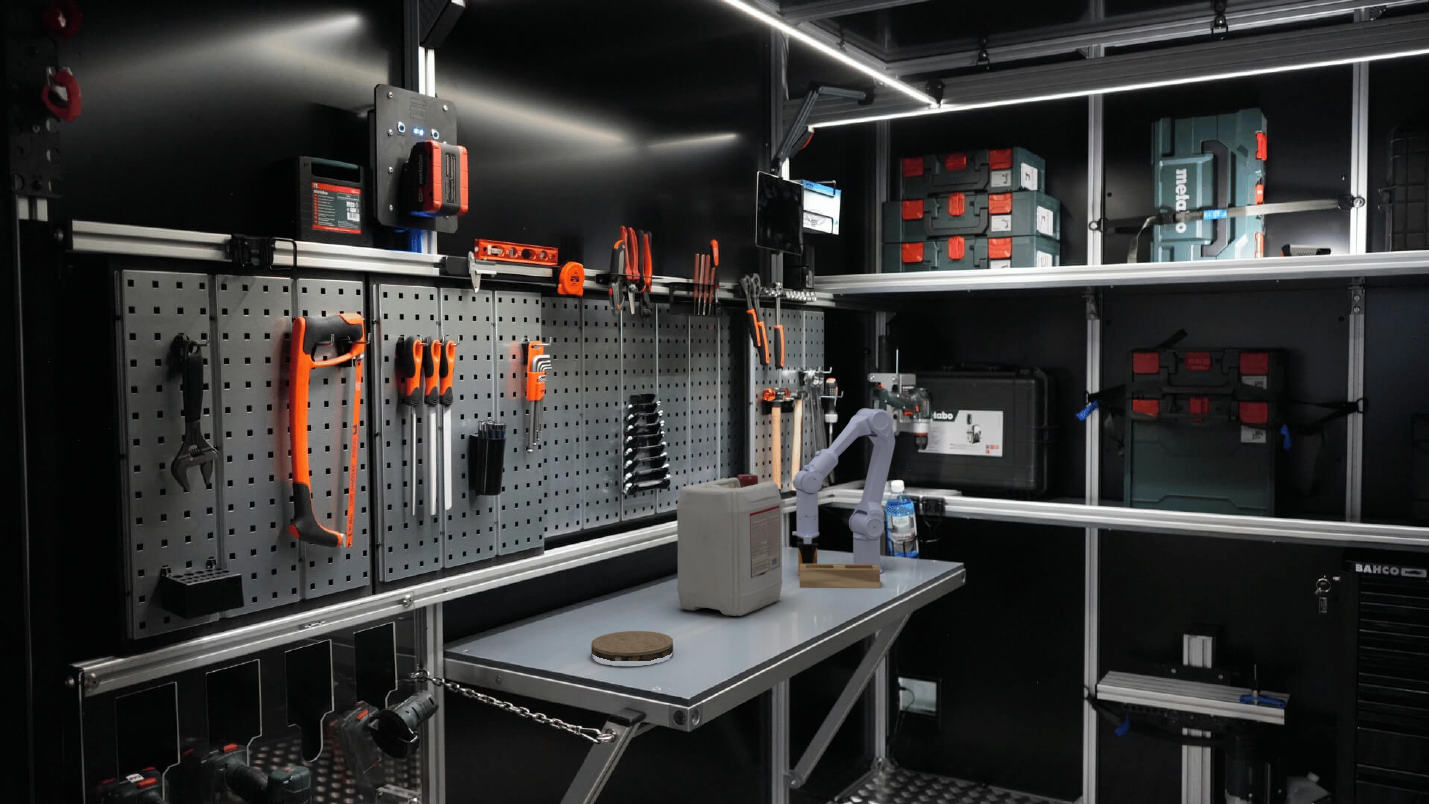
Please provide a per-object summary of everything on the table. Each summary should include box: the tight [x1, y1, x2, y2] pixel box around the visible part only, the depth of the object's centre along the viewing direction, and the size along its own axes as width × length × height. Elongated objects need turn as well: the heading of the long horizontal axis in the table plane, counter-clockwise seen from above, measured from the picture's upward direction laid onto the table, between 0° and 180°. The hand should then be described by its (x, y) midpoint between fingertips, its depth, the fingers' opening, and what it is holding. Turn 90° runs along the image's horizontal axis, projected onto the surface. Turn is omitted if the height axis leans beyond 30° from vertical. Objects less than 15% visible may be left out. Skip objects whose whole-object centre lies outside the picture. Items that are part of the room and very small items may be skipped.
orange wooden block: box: [797, 548, 818, 577], centre depth 270 cm, size 2×5×7 cm, turn 85°
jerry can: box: [676, 474, 783, 617], centre depth 237 cm, size 24×19×30 cm
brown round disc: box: [591, 630, 674, 661], centre depth 197 cm, size 16×16×3 cm
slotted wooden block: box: [799, 563, 881, 589], centre depth 258 cm, size 8×20×4 cm, turn 85°
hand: (807, 566), depth 270 cm, fingers open, 6 cm apart
